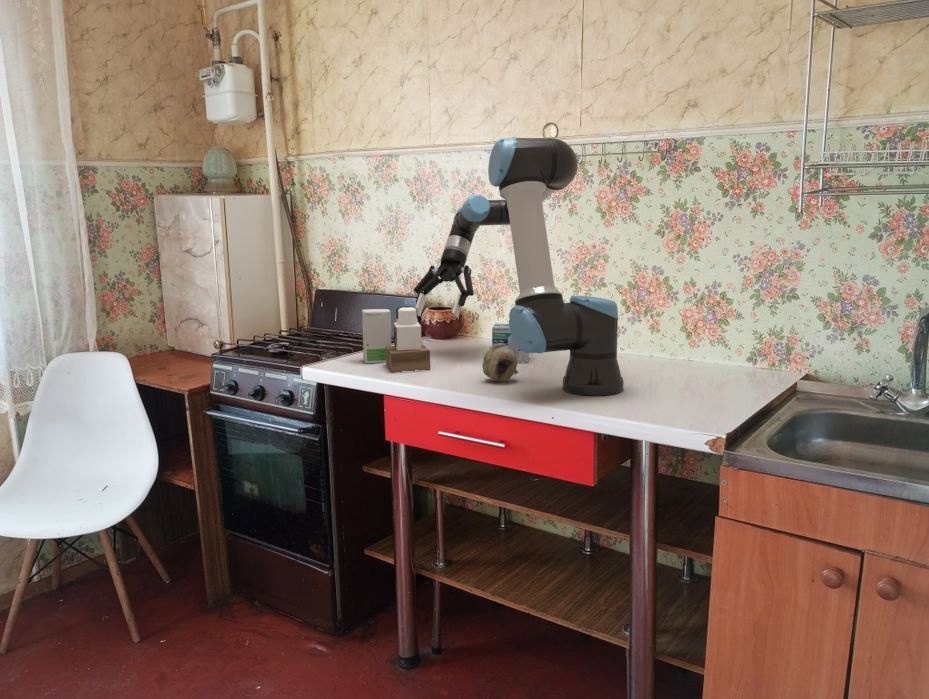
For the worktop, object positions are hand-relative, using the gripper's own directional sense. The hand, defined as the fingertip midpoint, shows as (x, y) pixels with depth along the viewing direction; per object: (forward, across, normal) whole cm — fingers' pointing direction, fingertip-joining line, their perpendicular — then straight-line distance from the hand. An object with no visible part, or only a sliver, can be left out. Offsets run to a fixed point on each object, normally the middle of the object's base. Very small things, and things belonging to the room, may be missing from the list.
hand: (435, 314), depth 223 cm
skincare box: (+16, +17, -2) cm, 23 cm away
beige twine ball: (+20, -29, +2) cm, 35 cm away
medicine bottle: (+14, +3, +4) cm, 14 cm away
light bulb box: (+6, -19, -17) cm, 26 cm away
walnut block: (+18, +3, +1) cm, 19 cm away
